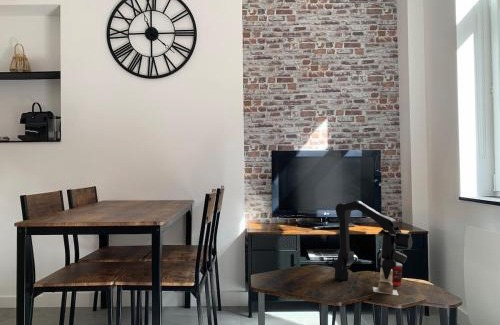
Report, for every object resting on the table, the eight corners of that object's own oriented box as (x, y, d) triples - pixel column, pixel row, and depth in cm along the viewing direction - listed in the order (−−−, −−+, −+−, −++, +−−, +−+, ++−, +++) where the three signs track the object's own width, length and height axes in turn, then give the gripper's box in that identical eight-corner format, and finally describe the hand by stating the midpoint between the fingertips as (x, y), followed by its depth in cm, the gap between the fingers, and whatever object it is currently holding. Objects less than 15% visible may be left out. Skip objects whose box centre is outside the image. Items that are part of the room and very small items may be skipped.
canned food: (386, 281, 200) (387, 260, 200) (402, 284, 196) (403, 263, 196) (382, 284, 193) (384, 263, 194) (399, 288, 189) (400, 266, 189)
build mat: (373, 292, 178) (373, 291, 178) (372, 288, 186) (372, 286, 186) (398, 296, 175) (398, 295, 175) (396, 291, 183) (396, 290, 183)
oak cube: (380, 280, 179) (381, 269, 179) (379, 277, 184) (380, 267, 184) (392, 281, 177) (392, 271, 178) (390, 279, 182) (391, 268, 182)
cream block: (379, 291, 178) (379, 283, 178) (378, 288, 184) (378, 279, 184) (392, 293, 177) (393, 285, 177) (391, 290, 182) (391, 281, 183)
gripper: (409, 250, 170) (407, 285, 169) (403, 243, 188) (401, 275, 187) (383, 247, 173) (380, 281, 172) (379, 240, 191) (377, 271, 190)
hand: (386, 277), depth 181 cm, fingers closed on oak cube, 5 cm apart
